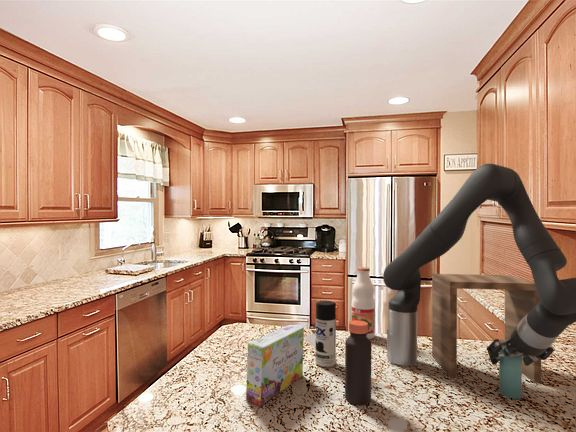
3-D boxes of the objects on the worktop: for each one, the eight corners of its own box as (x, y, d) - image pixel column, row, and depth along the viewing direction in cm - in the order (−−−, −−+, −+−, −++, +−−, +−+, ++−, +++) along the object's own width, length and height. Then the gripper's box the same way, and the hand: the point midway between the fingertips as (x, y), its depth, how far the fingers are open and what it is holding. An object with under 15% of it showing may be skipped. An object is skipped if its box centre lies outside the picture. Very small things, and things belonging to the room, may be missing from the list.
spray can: (311, 363, 114) (311, 302, 114) (323, 357, 119) (324, 299, 119) (327, 369, 109) (328, 306, 109) (339, 363, 114) (340, 302, 114)
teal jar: (505, 398, 92) (505, 345, 92) (495, 389, 97) (495, 339, 98) (526, 399, 92) (526, 346, 92) (514, 390, 97) (514, 339, 97)
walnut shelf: (449, 378, 104) (450, 281, 104) (432, 357, 120) (432, 273, 120) (541, 382, 102) (541, 283, 102) (510, 360, 118) (510, 275, 118)
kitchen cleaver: (295, 327, 151) (318, 325, 152) (295, 330, 151) (318, 327, 152) (309, 348, 127) (335, 345, 128) (309, 351, 127) (335, 348, 128)
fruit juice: (379, 336, 141) (379, 267, 142) (366, 341, 135) (366, 270, 135) (360, 331, 148) (360, 265, 149) (346, 335, 142) (347, 267, 142)
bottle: (354, 407, 87) (355, 328, 87) (340, 395, 93) (340, 320, 93) (376, 402, 90) (377, 325, 90) (361, 390, 96) (361, 318, 96)
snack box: (262, 407, 87) (263, 347, 87) (245, 401, 90) (245, 343, 90) (304, 376, 105) (304, 326, 105) (288, 371, 108) (288, 323, 108)
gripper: (558, 320, 87) (529, 349, 98) (498, 318, 88) (477, 347, 99) (573, 349, 81) (542, 376, 92) (510, 347, 82) (486, 374, 94)
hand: (508, 361), depth 96 cm, fingers open, 8 cm apart
